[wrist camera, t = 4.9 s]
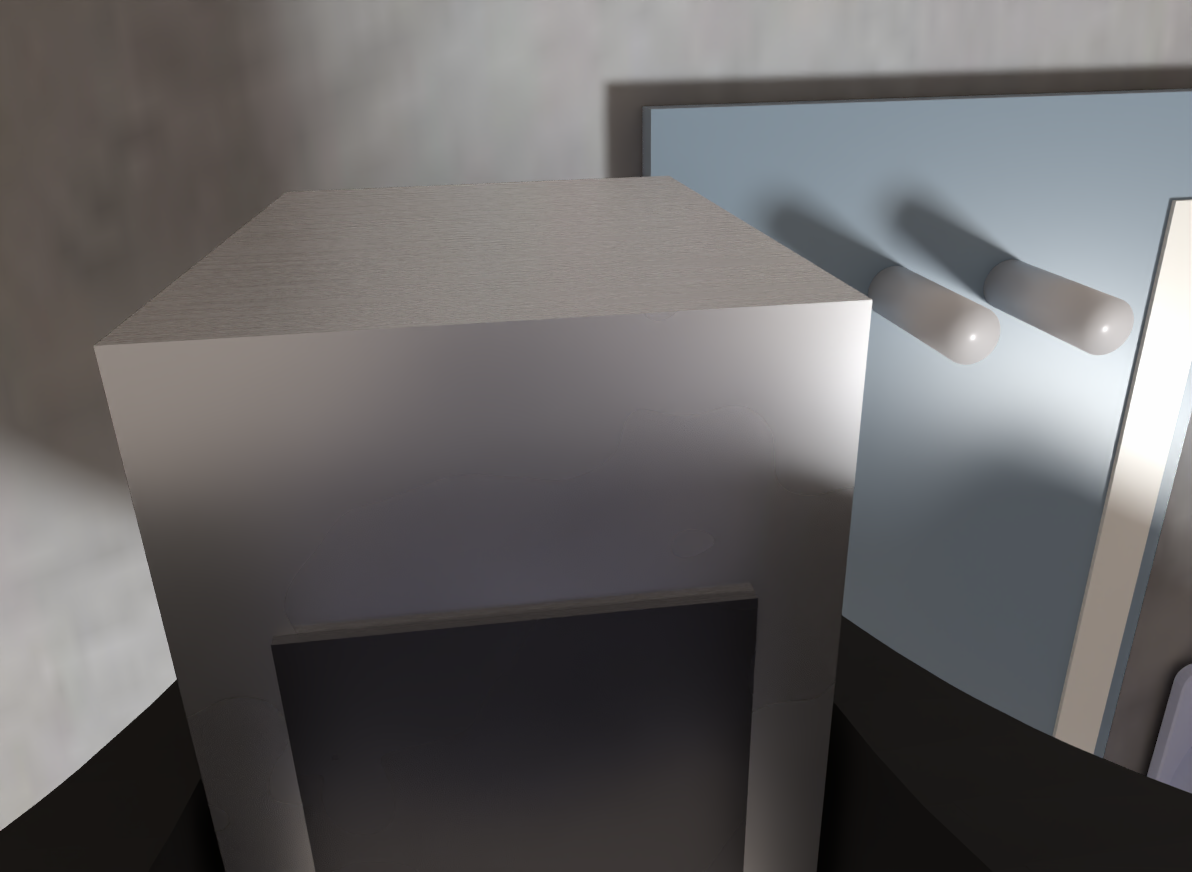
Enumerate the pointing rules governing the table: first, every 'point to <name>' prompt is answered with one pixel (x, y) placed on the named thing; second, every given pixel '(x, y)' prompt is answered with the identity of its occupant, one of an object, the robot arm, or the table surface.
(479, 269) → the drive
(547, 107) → the table surface
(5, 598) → the table surface
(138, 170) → the table surface
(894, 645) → the dock
